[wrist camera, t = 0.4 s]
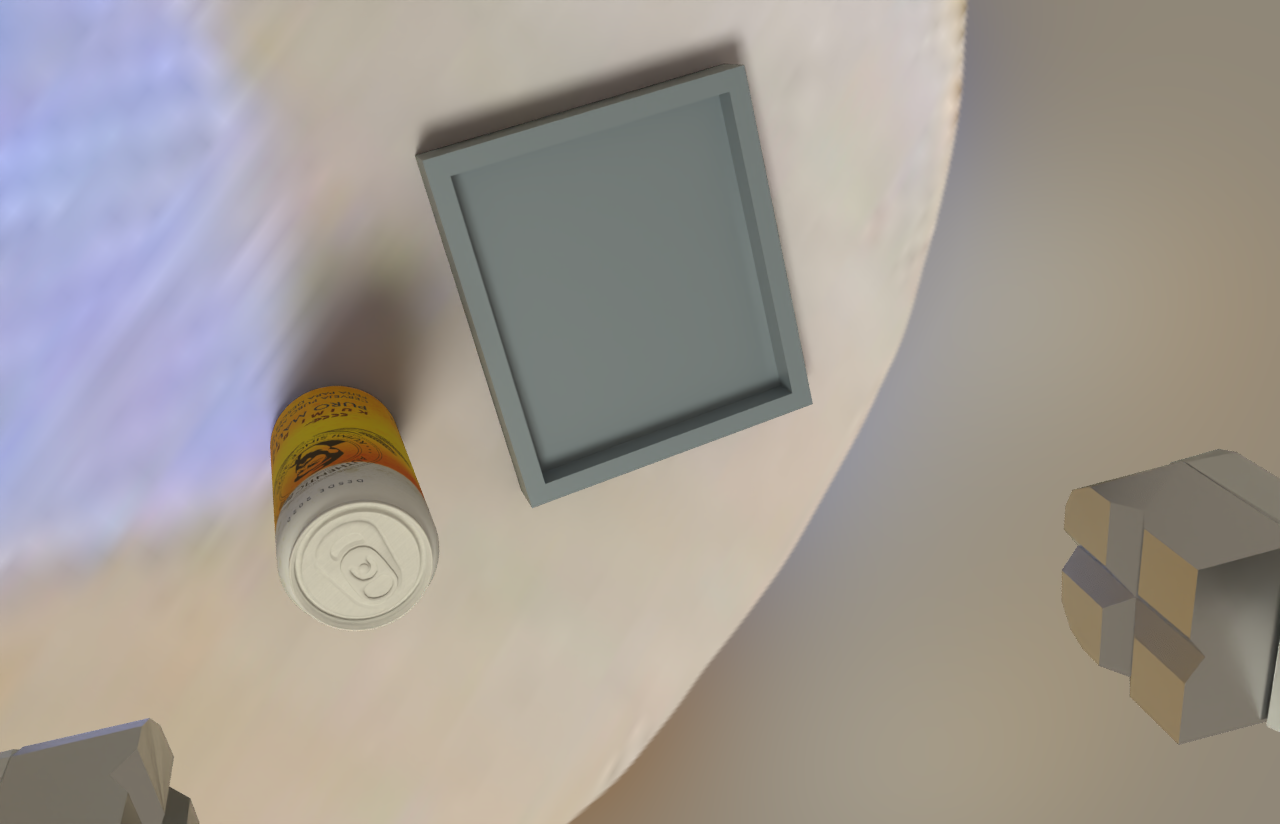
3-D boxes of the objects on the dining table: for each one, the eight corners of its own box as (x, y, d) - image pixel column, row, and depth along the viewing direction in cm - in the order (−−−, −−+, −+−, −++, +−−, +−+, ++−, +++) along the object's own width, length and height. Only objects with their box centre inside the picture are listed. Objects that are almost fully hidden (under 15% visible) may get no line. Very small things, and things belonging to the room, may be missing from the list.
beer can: (350, 357, 55) (384, 460, 42) (420, 452, 58) (474, 578, 44) (243, 428, 55) (242, 556, 41) (319, 520, 57) (341, 670, 44)
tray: (414, 155, 54) (422, 160, 51) (724, 63, 57) (744, 65, 55) (521, 490, 60) (532, 508, 58) (792, 391, 64) (812, 403, 61)
